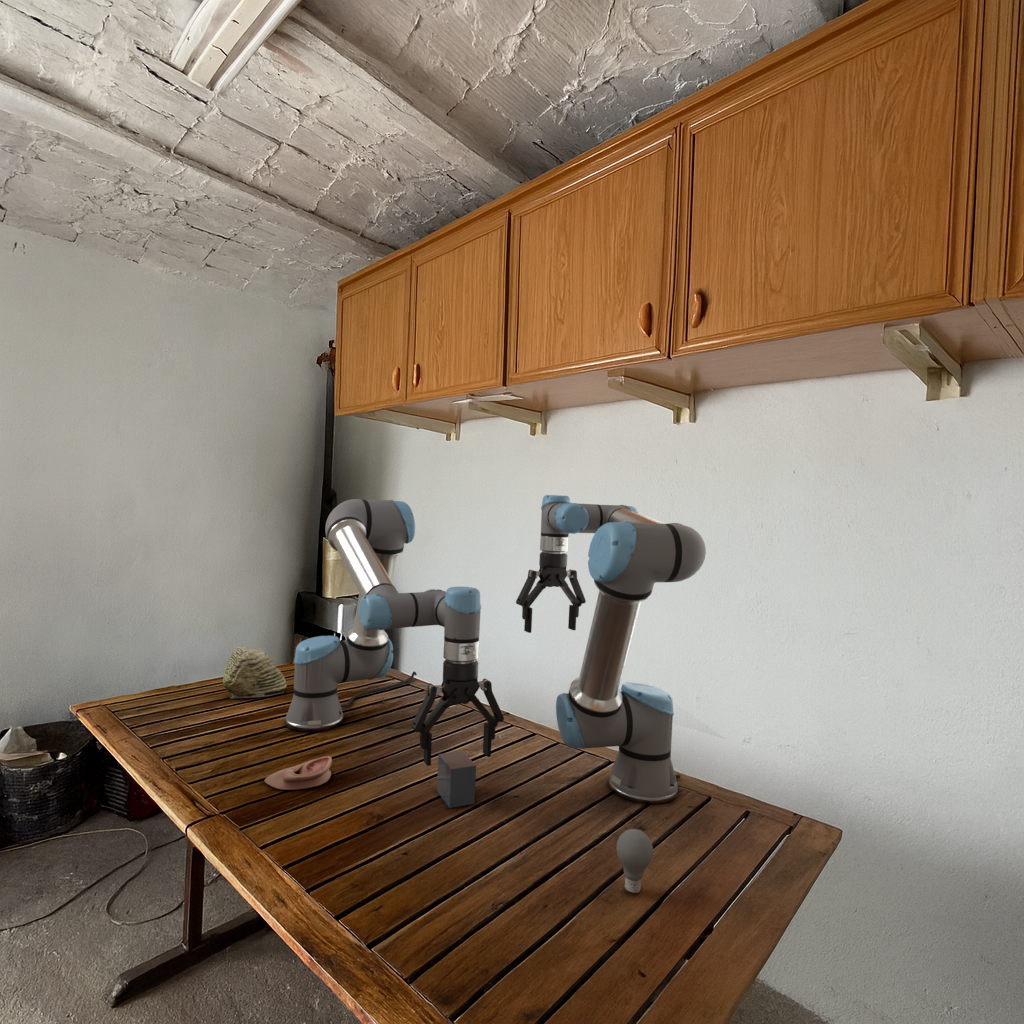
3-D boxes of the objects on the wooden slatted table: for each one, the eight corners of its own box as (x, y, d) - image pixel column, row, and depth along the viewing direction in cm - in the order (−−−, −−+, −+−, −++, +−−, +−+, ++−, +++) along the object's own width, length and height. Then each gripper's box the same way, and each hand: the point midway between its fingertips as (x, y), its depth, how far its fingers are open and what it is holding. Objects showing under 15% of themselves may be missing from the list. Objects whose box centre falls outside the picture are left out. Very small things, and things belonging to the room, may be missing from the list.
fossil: (218, 695, 195) (220, 647, 195) (278, 685, 208) (279, 640, 207) (228, 703, 189) (230, 653, 188) (289, 692, 201) (290, 645, 201)
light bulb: (610, 879, 108) (613, 822, 108) (644, 879, 109) (647, 822, 109) (619, 902, 102) (622, 840, 102) (655, 901, 103) (658, 840, 103)
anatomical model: (256, 768, 137) (286, 748, 148) (256, 786, 137) (285, 765, 148) (313, 776, 134) (338, 755, 145) (312, 794, 134) (338, 772, 145)
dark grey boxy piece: (436, 791, 139) (438, 754, 139) (460, 787, 141) (462, 750, 141) (449, 808, 131) (451, 769, 131) (474, 803, 134) (476, 765, 134)
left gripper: (409, 668, 127) (405, 774, 127) (520, 659, 138) (517, 757, 138) (399, 660, 134) (395, 760, 134) (506, 652, 144) (503, 745, 144)
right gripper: (518, 553, 162) (514, 635, 162) (600, 553, 173) (596, 631, 173) (505, 550, 169) (502, 629, 169) (585, 551, 180) (582, 625, 180)
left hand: (457, 759), depth 136 cm, fingers open, 13 cm apart
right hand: (550, 630), depth 171 cm, fingers open, 13 cm apart
